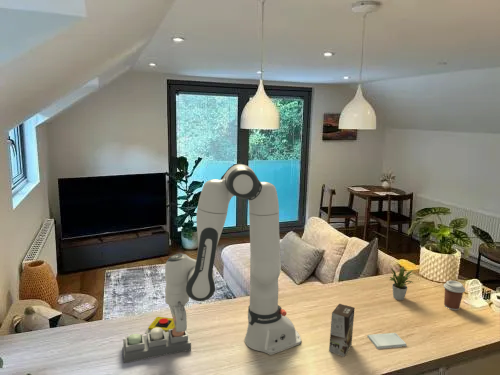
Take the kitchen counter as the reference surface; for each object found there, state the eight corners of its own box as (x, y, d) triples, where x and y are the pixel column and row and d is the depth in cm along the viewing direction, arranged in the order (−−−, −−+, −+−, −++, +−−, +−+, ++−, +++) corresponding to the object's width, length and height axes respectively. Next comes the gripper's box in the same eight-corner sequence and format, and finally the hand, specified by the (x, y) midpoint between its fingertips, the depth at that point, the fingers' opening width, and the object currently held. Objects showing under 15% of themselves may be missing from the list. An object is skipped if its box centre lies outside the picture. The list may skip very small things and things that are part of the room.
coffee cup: (465, 307, 176) (468, 284, 174) (457, 313, 170) (461, 289, 168) (445, 300, 183) (448, 277, 181) (437, 306, 177) (440, 282, 175)
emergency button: (153, 313, 157) (187, 317, 155) (154, 322, 158) (187, 326, 155) (143, 324, 148) (179, 329, 146) (144, 334, 149) (179, 339, 146)
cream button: (162, 333, 142) (161, 326, 141) (163, 340, 138) (163, 332, 137) (150, 335, 140) (150, 328, 140) (151, 342, 136) (151, 335, 135)
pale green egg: (140, 340, 139) (140, 332, 138) (141, 346, 135) (141, 339, 134) (128, 342, 138) (128, 334, 137) (128, 349, 133) (128, 341, 133)
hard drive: (395, 332, 152) (367, 334, 150) (406, 343, 144) (377, 346, 142) (394, 335, 153) (367, 337, 150) (406, 347, 145) (377, 350, 143)
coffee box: (345, 357, 137) (348, 317, 134) (328, 351, 140) (331, 312, 137) (352, 345, 144) (355, 307, 142) (336, 339, 148) (339, 302, 145)
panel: (186, 335, 148) (186, 323, 147) (191, 349, 139) (191, 337, 138) (123, 346, 140) (122, 334, 139) (124, 362, 131) (123, 350, 130)
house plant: (421, 306, 176) (424, 274, 173) (392, 305, 176) (395, 273, 173) (408, 292, 190) (412, 262, 187) (382, 291, 190) (384, 262, 187)
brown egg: (182, 332, 145) (182, 325, 144) (184, 338, 140) (184, 331, 140) (171, 334, 143) (171, 327, 142) (173, 340, 139) (173, 333, 138)
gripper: (191, 308, 130) (191, 343, 133) (181, 283, 149) (181, 315, 152) (173, 311, 128) (173, 346, 131) (165, 285, 147) (165, 317, 149)
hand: (177, 329), depth 141 cm, fingers closed, pressing on brown egg
